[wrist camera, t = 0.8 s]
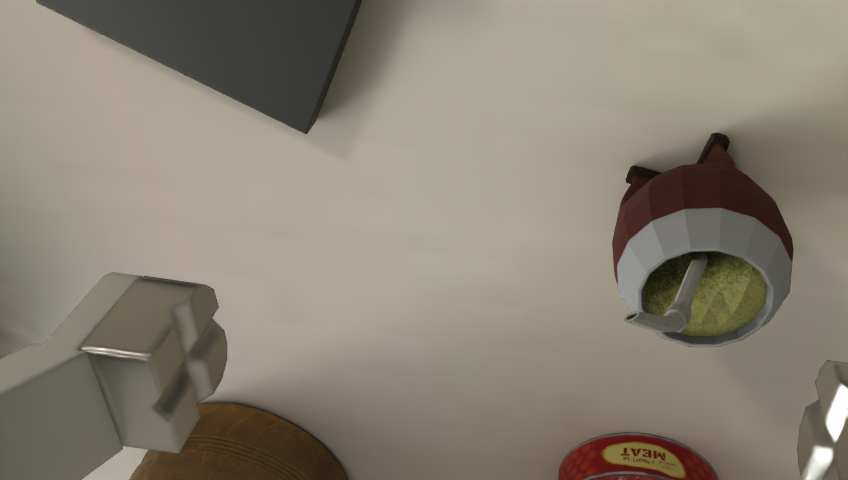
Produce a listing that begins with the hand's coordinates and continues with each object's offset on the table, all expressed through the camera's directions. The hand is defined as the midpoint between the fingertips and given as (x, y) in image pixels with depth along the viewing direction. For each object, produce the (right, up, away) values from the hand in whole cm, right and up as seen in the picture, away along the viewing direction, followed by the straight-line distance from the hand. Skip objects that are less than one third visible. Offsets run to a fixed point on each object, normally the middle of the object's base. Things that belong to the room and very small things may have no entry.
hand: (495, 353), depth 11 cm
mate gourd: (+11, +4, +26) cm, 29 cm away
